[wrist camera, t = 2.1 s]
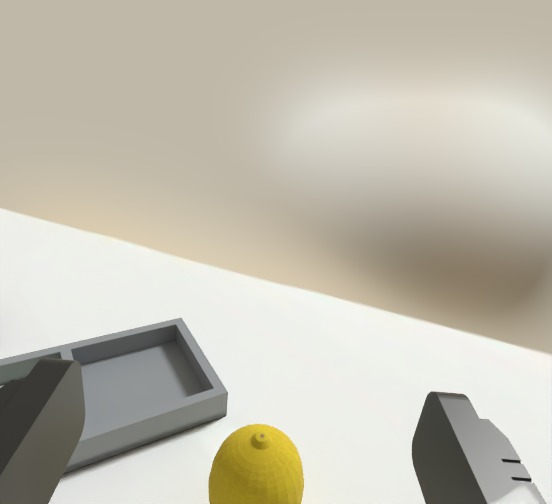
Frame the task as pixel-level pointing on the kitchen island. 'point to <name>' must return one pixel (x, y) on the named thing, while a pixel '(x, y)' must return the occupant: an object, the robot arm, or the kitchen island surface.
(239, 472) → the lemon
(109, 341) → the organiser tray
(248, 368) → the kitchen island surface
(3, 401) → the robot arm
